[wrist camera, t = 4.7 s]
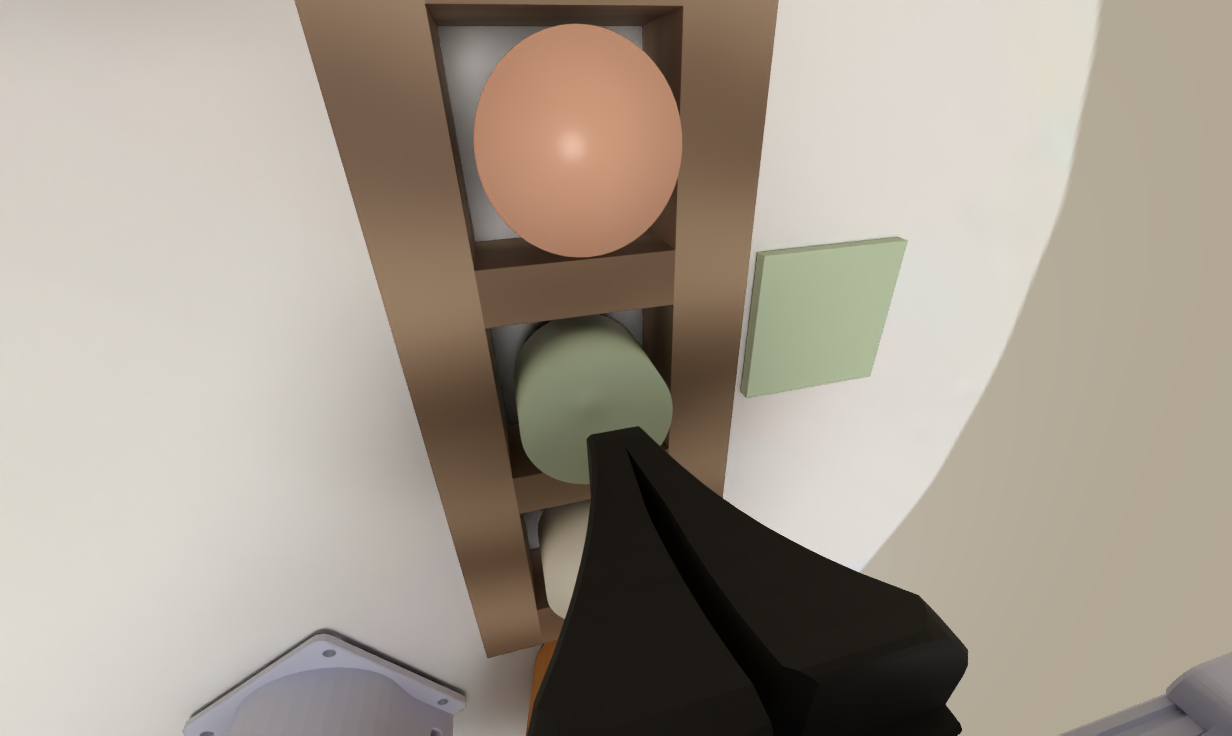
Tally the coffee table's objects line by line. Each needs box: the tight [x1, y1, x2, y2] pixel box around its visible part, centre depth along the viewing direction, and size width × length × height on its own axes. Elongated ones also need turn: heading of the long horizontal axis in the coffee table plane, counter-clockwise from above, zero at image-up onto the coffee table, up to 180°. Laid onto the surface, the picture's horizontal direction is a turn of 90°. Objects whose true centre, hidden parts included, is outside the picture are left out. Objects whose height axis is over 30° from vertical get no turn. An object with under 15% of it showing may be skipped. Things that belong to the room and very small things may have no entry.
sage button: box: [513, 314, 673, 484], centre depth 14 cm, size 4×4×3 cm
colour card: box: [741, 237, 908, 398], centre depth 19 cm, size 6×6×1 cm
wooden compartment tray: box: [295, 0, 778, 658], centre depth 16 cm, size 24×10×3 cm, turn 2°
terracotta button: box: [474, 24, 682, 257], centre depth 11 cm, size 4×4×3 cm
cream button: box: [538, 499, 591, 619], centre depth 18 cm, size 4×4×3 cm
